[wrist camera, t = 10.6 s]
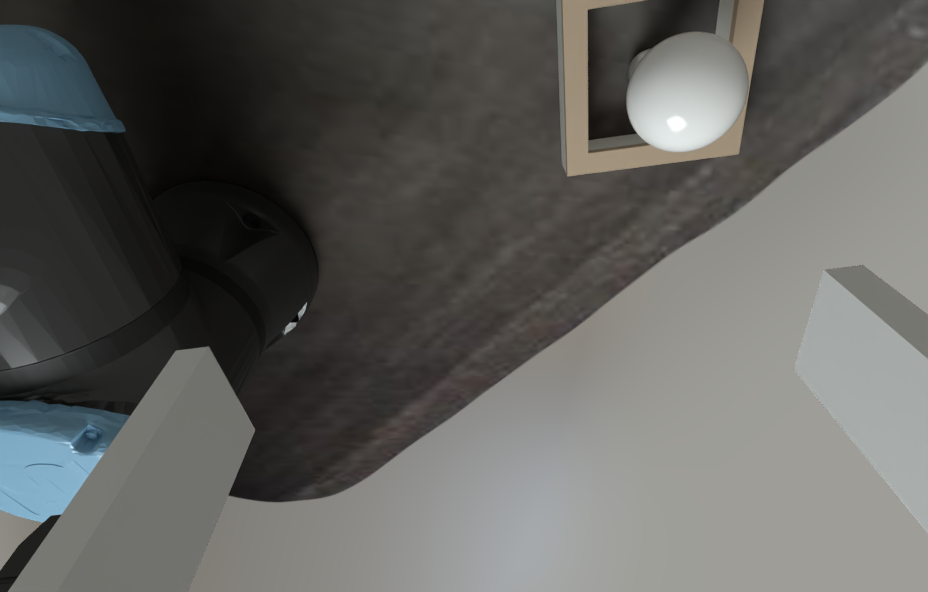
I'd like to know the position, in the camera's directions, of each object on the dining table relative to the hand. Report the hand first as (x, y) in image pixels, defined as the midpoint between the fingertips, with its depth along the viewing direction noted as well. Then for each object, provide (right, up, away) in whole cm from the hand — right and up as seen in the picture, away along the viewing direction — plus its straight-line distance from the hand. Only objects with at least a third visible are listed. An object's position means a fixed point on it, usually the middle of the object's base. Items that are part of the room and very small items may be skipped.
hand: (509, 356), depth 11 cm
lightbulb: (+12, +17, +24) cm, 32 cm away
